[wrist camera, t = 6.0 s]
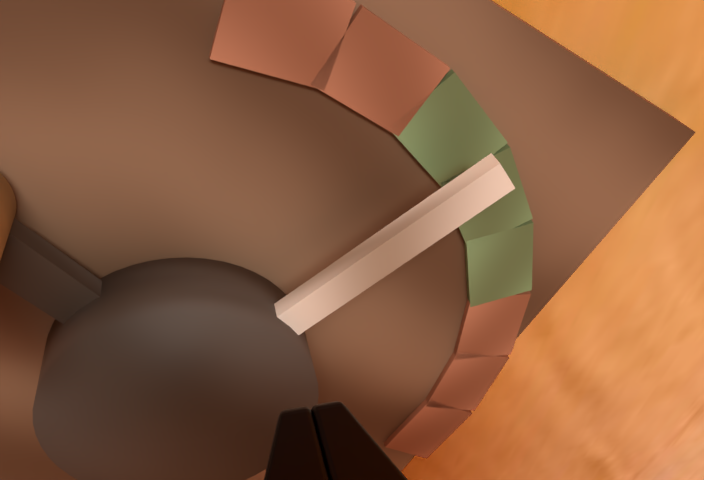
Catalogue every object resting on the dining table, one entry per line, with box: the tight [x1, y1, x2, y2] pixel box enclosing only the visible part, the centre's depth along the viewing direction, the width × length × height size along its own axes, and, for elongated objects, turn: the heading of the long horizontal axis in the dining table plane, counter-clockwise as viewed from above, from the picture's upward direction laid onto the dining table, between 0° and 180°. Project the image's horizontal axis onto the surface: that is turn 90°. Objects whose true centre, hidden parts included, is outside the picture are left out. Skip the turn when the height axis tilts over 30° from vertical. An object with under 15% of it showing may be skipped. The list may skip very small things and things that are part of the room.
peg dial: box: [0, 153, 515, 480], centre depth 14 cm, size 14×12×5 cm
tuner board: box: [0, 0, 695, 480], centre depth 19 cm, size 24×21×1 cm
